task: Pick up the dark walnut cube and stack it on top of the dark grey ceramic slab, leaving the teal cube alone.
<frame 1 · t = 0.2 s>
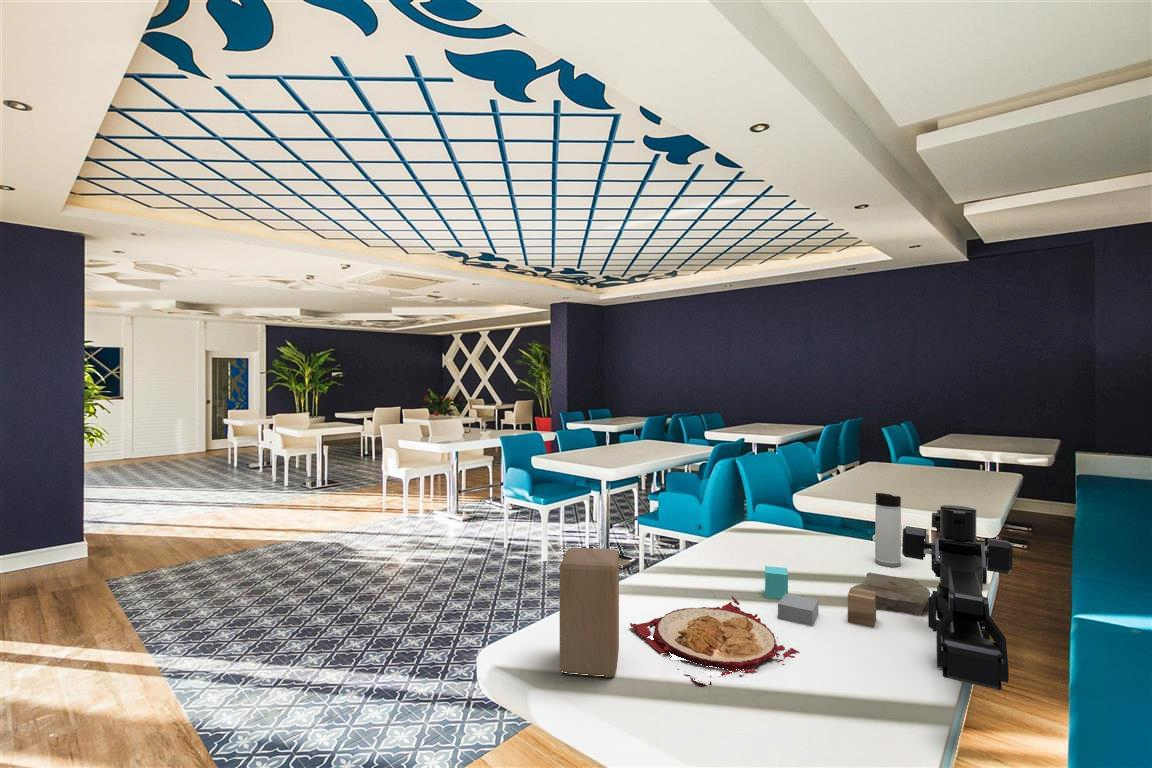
hand: (952, 540, 124), 17 cm above the table, tool horizontal, fingers open, 9 cm apart
travel mug: (887, 564, 158), on the table
marble piece: (888, 602, 133), on the table
grey slab: (798, 617, 124), on the table
block: (590, 664, 103), on the table
plate with food: (718, 646, 112), on the table
walnut cube: (861, 621, 121), on the table
teal cube: (776, 595, 136), on the table
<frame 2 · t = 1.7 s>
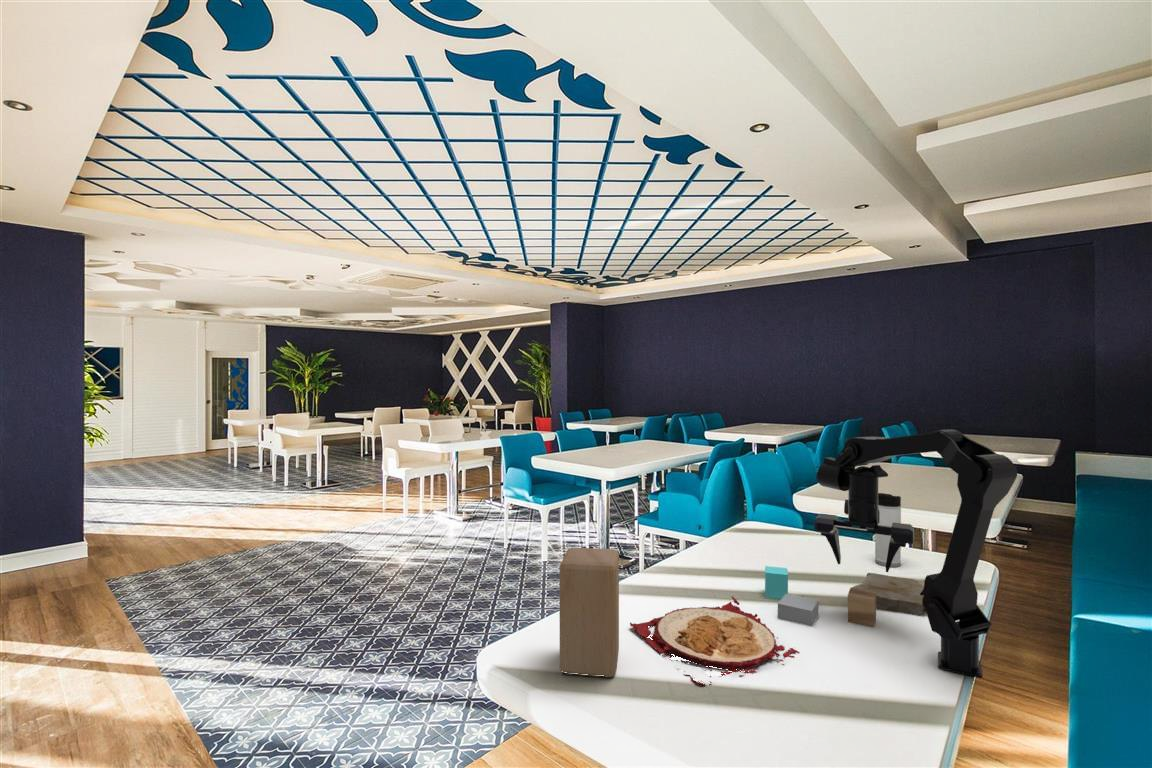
hand: (862, 567, 121), 11 cm above the table, tool pointing down, fingers open, 9 cm apart
nothing on the table moved.
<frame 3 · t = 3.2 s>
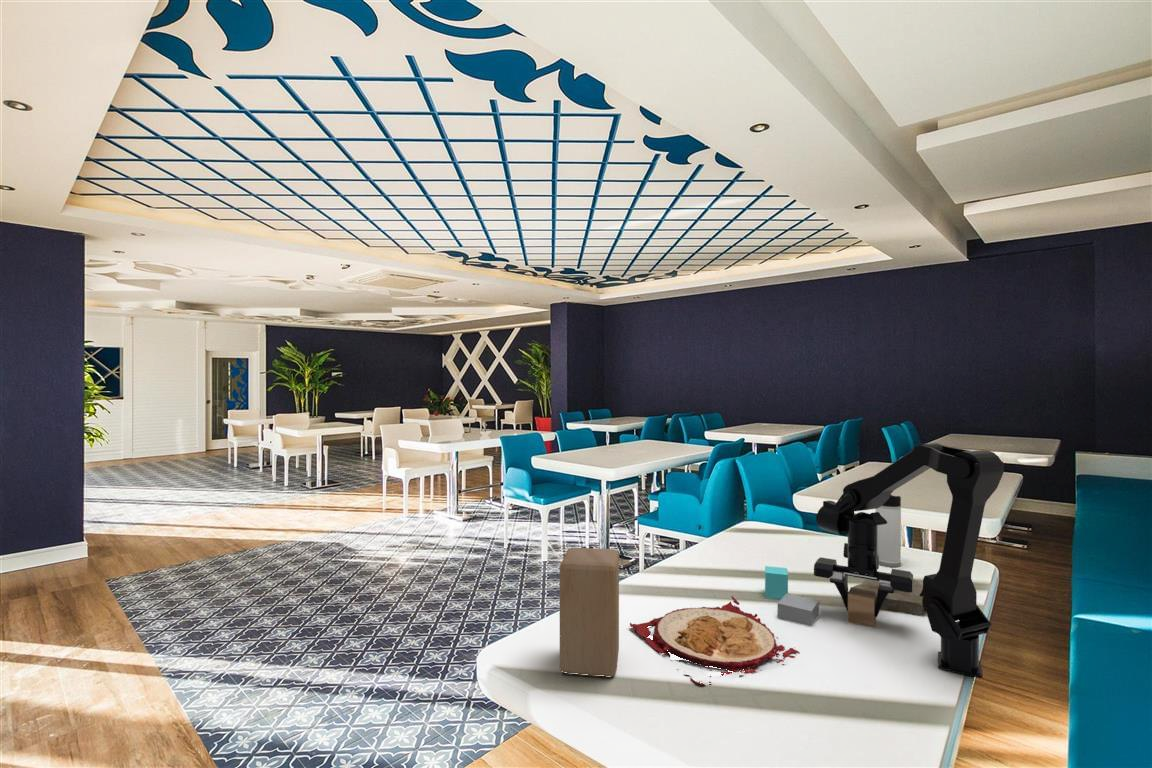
hand: (862, 613, 121), 2 cm above the table, tool pointing down, fingers closed on walnut cube, 5 cm apart
walnut cube: (862, 620, 121), on the table, touching gripper
everything else where it was.
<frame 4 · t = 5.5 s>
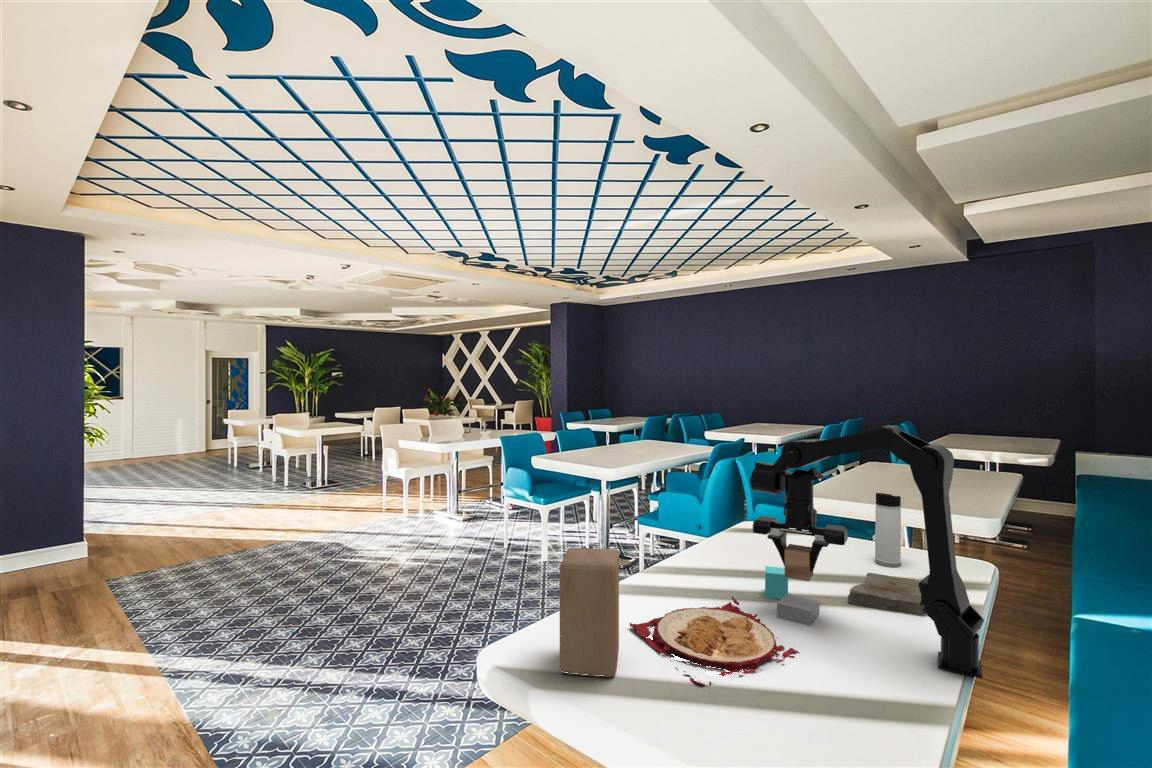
hand: (798, 568, 124), 10 cm above the table, tool pointing down, fingers closed on walnut cube, 5 cm apart
walnut cube: (799, 575, 124), point 9 cm above the table, touching gripper
everything else where it was.
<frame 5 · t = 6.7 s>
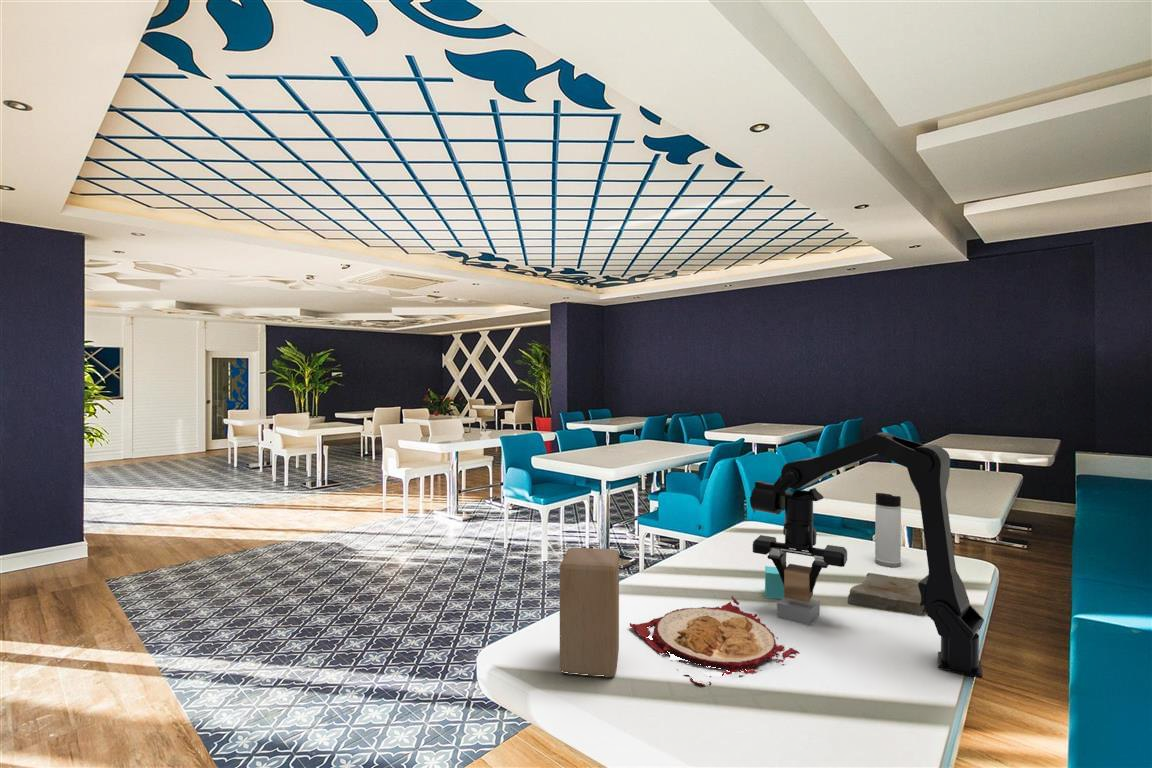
hand: (798, 589, 124), 6 cm above the table, tool pointing down, fingers closed on walnut cube, 5 cm apart
walnut cube: (798, 596, 124), point 4 cm above the table, touching gripper
everything else where it was.
when the fingers open (6 cm above the table, at t = 6.8 s): walnut cube drops 1 cm, resting on grey slab.
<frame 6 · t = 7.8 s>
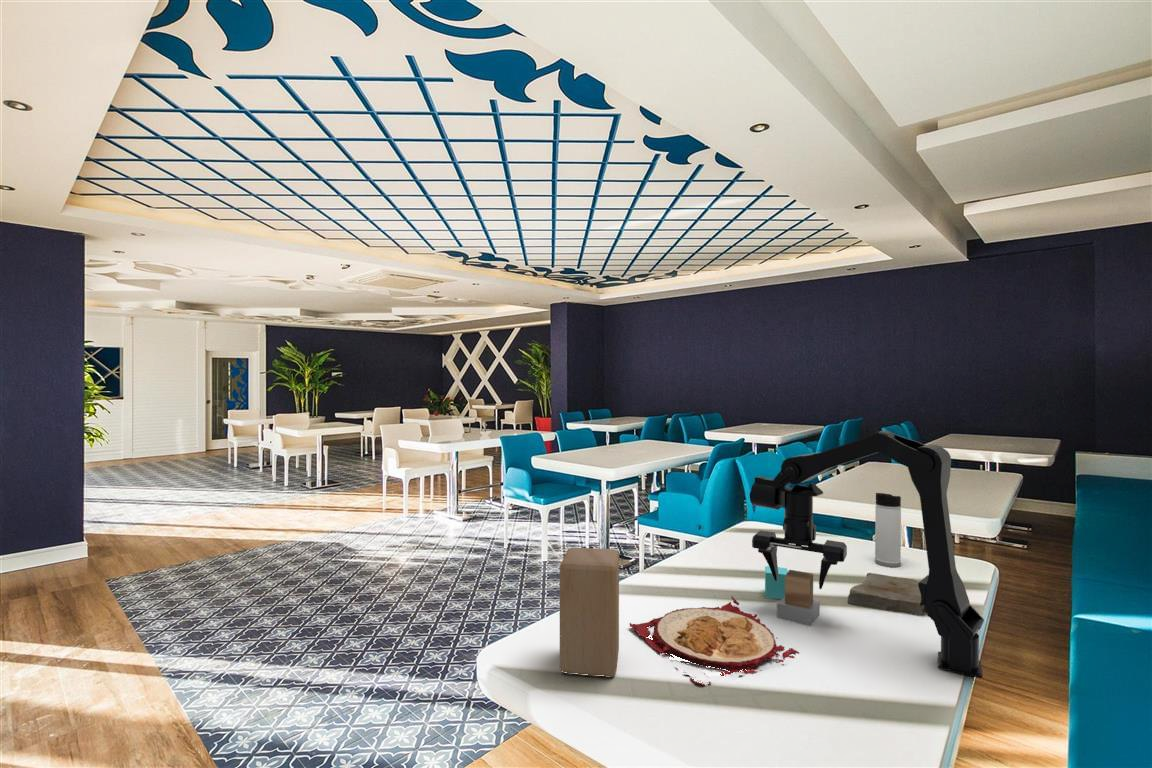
hand: (798, 584, 124), 7 cm above the table, tool pointing down, fingers open, 9 cm apart
grey slab: (798, 618, 124), on the table, touching walnut cube
walnut cube: (799, 602, 124), point 3 cm above the table, touching grey slab
everything else where it was.
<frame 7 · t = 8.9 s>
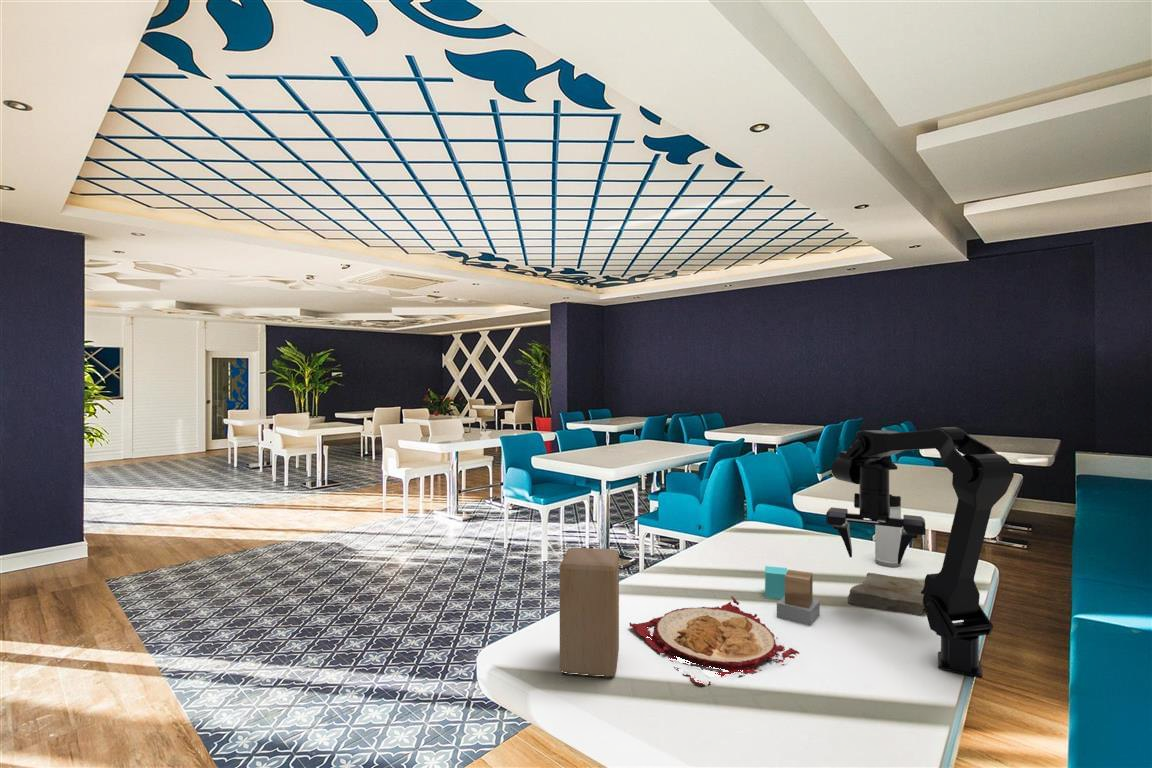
hand: (874, 560, 122), 13 cm above the table, tool pointing down, fingers open, 9 cm apart
nothing on the table moved.
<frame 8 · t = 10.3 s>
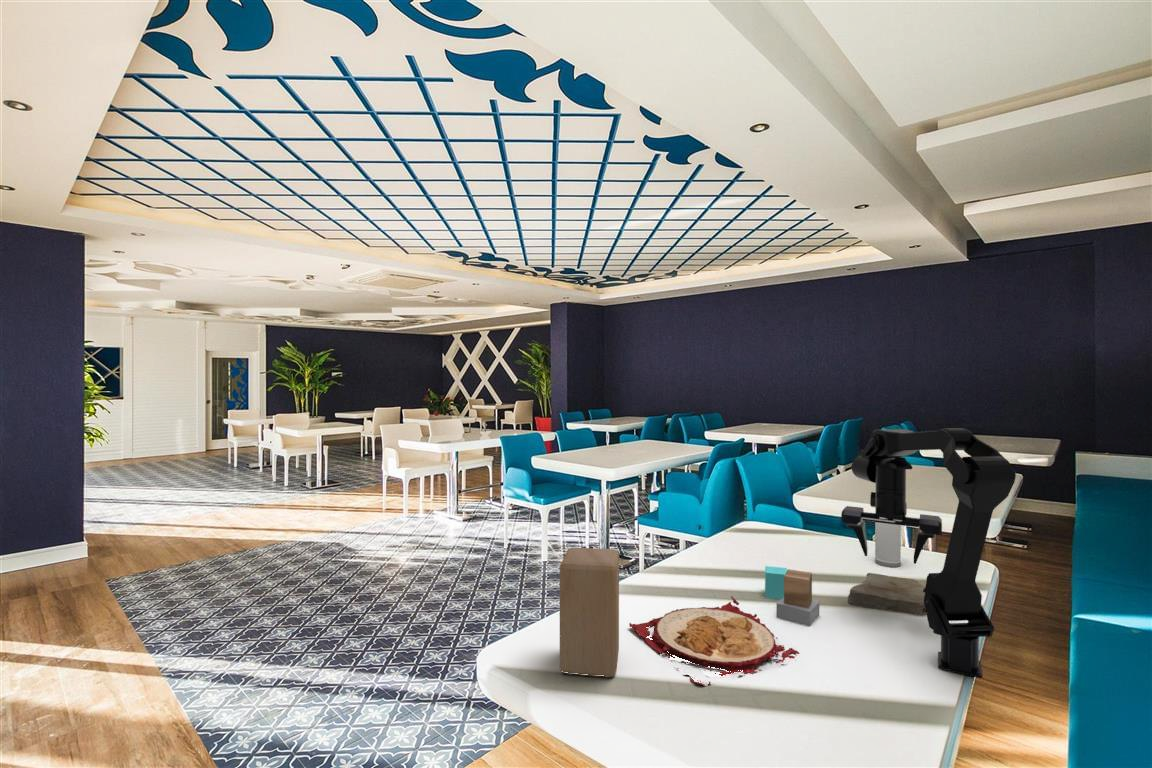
hand: (890, 559, 122), 13 cm above the table, tool pointing down, fingers open, 9 cm apart
grey slab: (798, 618, 124), on the table
walnut cube: (798, 601, 124), point 3 cm above the table
everything else where it was.
at the end: walnut cube 0.2 cm off-centre on the grey slab, point 3.5 cm above the grey slab's base; walnut cube tilted 0°; the gripper is holding nothing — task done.
